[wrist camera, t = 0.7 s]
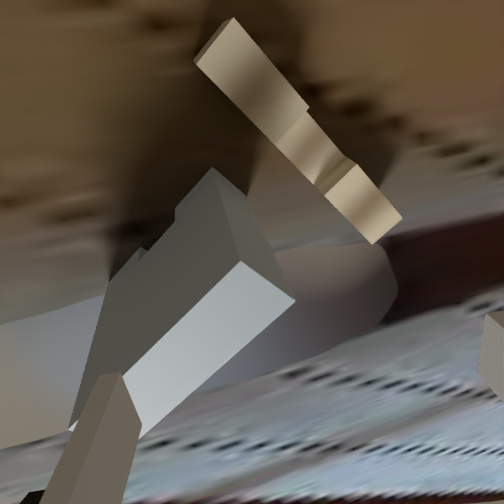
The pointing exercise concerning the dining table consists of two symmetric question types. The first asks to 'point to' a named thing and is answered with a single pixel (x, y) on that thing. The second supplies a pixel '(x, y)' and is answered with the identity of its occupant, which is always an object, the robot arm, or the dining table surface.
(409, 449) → the dining table surface
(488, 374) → the robot arm
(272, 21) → the dining table surface
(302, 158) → the maple rail
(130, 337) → the grey board
